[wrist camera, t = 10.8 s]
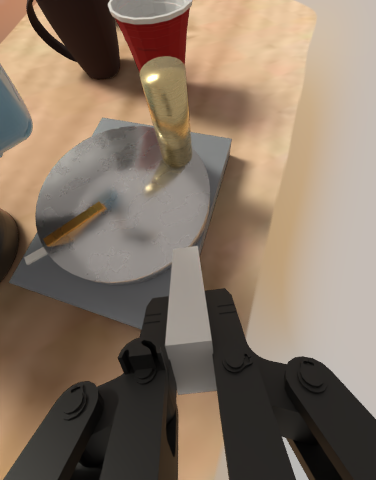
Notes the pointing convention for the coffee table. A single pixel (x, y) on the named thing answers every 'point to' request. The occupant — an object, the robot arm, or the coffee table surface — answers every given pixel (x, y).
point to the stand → (117, 296)
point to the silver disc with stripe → (129, 191)
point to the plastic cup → (153, 27)
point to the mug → (81, 33)
